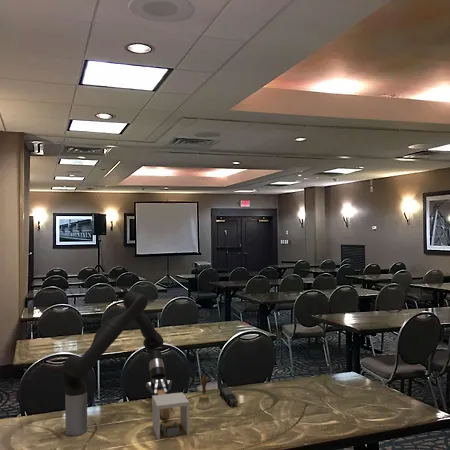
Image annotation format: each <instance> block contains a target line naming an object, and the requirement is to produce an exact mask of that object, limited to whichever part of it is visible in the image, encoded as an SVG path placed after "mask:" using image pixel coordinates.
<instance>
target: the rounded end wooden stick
mask: <svg viewBox="0 0 450 450" xmlns="http://www.w3.org/2000/svg"><path fill="white" fill-rule="evenodd" d="M164 394H166V393H165V391H164V390H163V389H157V395H164ZM160 417H161V418H162V419H165V420H167V419H170V417H171V415H170V408H164V409H160Z"/></svg>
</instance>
